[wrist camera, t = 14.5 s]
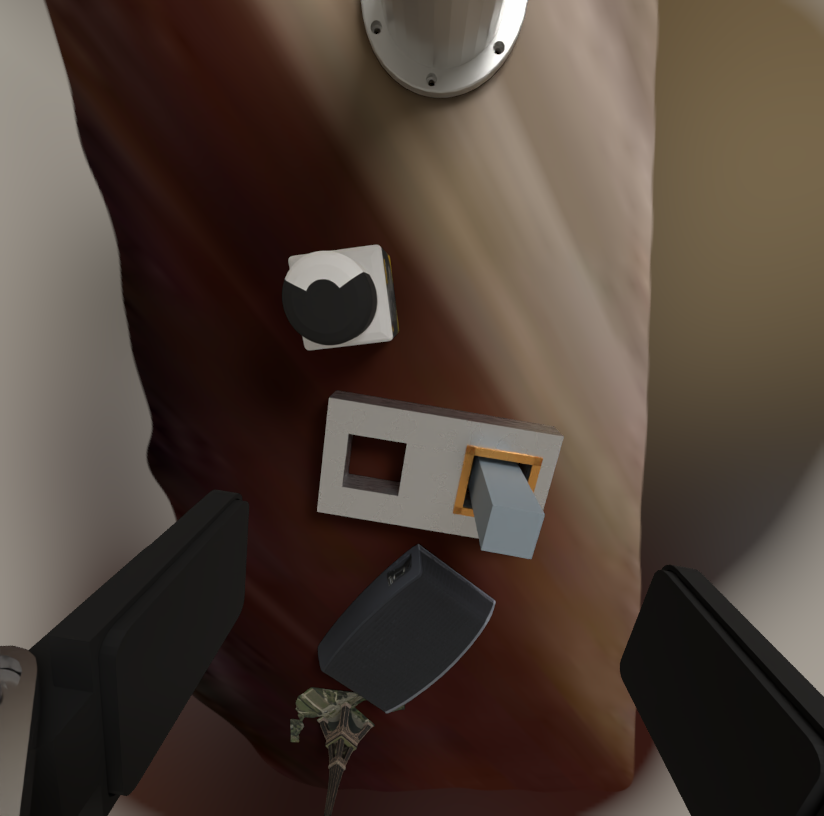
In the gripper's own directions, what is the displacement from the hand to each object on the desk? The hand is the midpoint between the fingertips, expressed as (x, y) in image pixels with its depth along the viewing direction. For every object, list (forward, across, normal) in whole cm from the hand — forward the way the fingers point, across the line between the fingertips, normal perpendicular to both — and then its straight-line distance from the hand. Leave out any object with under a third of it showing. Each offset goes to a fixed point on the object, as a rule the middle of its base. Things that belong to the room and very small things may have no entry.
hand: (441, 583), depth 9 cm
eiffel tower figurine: (+31, +3, +47) cm, 57 cm away
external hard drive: (+31, -2, +31) cm, 44 cm away
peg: (+30, -8, +10) cm, 33 cm away
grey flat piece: (+30, -2, +10) cm, 32 cm away
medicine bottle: (+31, +8, -5) cm, 32 cm away
